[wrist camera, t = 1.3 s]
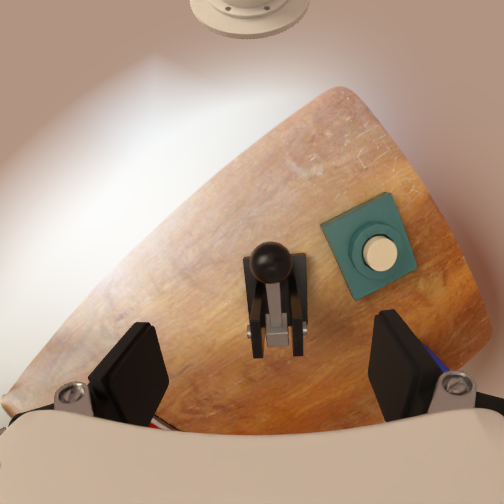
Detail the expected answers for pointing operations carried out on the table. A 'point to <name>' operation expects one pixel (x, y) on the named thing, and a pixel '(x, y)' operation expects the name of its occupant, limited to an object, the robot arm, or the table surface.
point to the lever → (273, 287)
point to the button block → (356, 236)
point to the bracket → (291, 303)
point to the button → (380, 253)
